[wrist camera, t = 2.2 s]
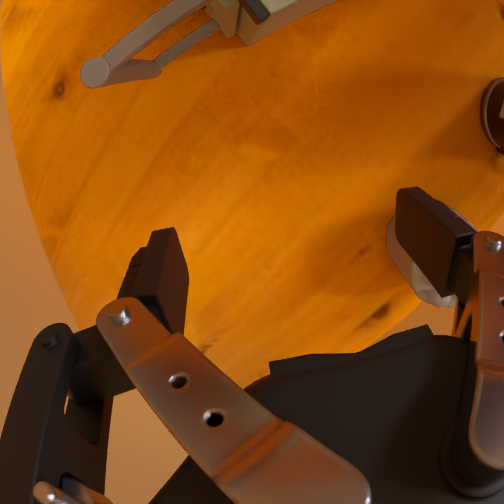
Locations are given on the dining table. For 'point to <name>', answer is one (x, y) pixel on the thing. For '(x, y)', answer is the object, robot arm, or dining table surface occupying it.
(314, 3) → the washer
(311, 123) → the dining table surface
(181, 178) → the dining table surface
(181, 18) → the washer door
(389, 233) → the lumpy-topped squat cylinder
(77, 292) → the dining table surface
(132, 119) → the dining table surface
